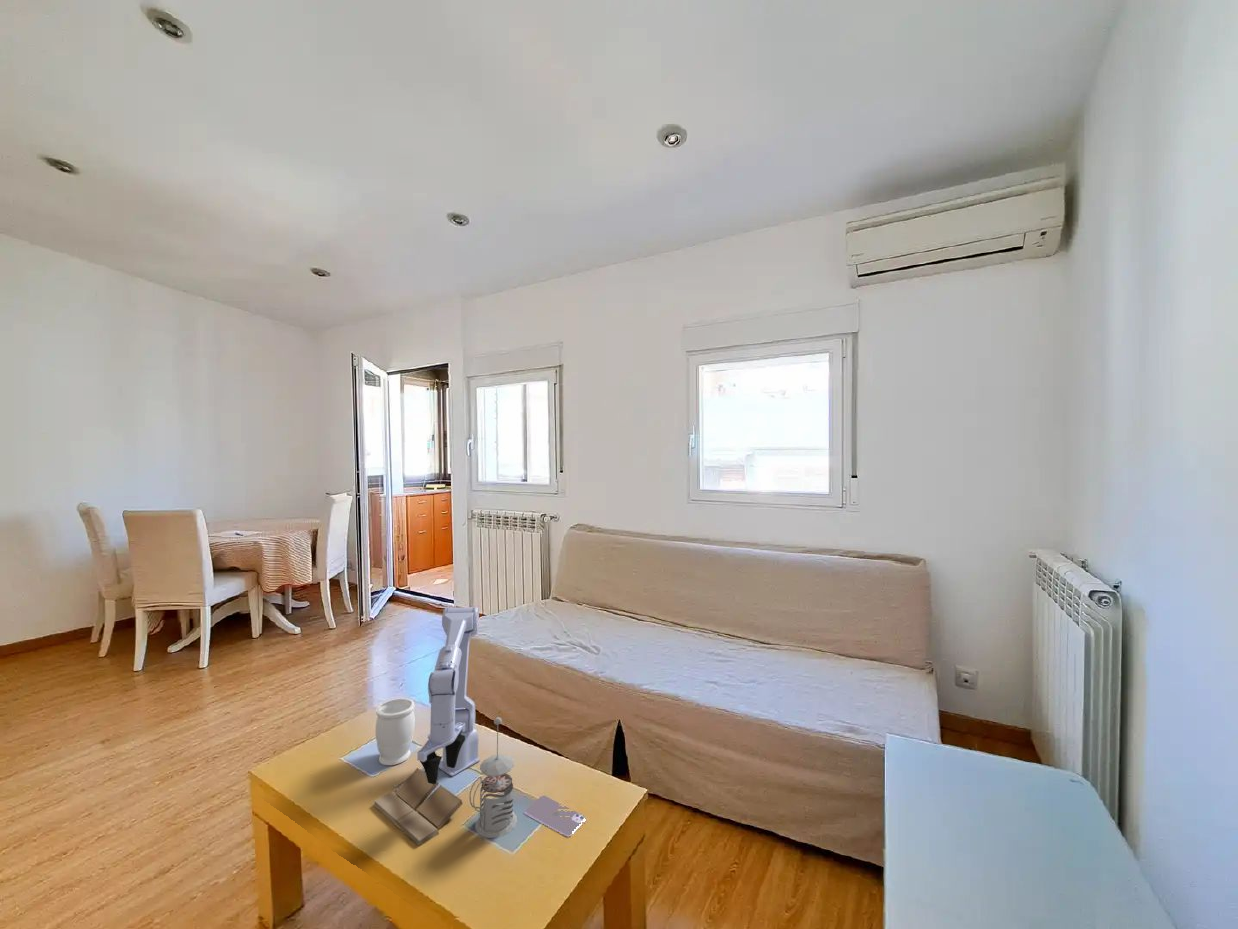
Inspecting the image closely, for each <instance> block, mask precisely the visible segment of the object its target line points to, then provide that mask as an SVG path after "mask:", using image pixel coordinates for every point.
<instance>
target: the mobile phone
mask: <svg viewBox="0 0 1238 929" xmlns="http://www.w3.org/2000/svg"><path fill="white" fill-rule="evenodd" d="M559 803H560V802H558V801H557V800H555V799H552V798H550V797H548V796H547V795H541V796H540V797H538V798H537V799H536V800H535V801H533V802H532V803H531V804H530V805H529V806H527V807H526V808H525V809H524V812H523V813H524V815H525V816H527V817H529V818H531V819H533V820H535V821H536V822H538V823H539V824H541V825H543V824H544V825H543V826H545V825H546V826H545V827H547V826H548V827H547V828H549V829H551V828H552V829H554V830H556V831H557V832H560V833H561V834H564V835H566V836H570V835H572V834H574V833H575V832H576V830H577V829H578V828H580V826H581V825H582V822H585V821H586V818H587V817H586V818H585V815H584V814H582V813H579V812H577V810H574V811H571V812H570V811H567V810H566V811H567V812H565V811H563V810H561V811H558V809H571V807H568V806H567V805H564V807H562V806H559V805H561V804H562V803H560V804H559ZM560 816H562V817H560ZM565 816H570V817H565ZM552 829H551V830H552ZM580 829H581V828H580ZM554 830H553V831H554ZM556 831H555V832H556ZM557 832H556V833H557ZM560 833H559V834H560ZM576 833H577V832H576ZM576 833H575V834H576ZM561 834H560V835H561ZM575 834H574V835H575Z"/></svg>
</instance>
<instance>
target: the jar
mask: <svg viewBox="0 0 1238 929" xmlns="http://www.w3.org/2000/svg"><path fill="white" fill-rule="evenodd" d="M415 708H416V702H415V701H414V700H413V699H411V698H406V697H405V698H404V697H402V698H401V697H400V698H394V699H390V700H387V701H384V702H382V703H381V704H379V705H378V706H377V707H376V710H375V712H376V713H375V714H376V716H377V717H376V722H375V740H376V747H377V750H378V753H379V757H378V762H379V763H380V764H381V765H384V766H394V765H395V766H396V765H398V764H399V765H400V764H401V763H404V762H405V761H406V760H408V759H409V758H410V756H411V750H410V748H411V746H412V742H413V737H414V732H415V728H416V727H415V724H416V721H415V712H414V710H415Z"/></svg>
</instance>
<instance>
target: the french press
mask: <svg viewBox="0 0 1238 929" xmlns="http://www.w3.org/2000/svg"><path fill="white" fill-rule="evenodd" d="M493 723H494V725H495V726H496V727H497V728H496V732H497V733H496V734H497V735H496V736H497V737H496V754H493V755H491V756H489V757H488V758H486V759H483V761H481V763H480V765H479V770H480V772H481V773H482V775H484V776H486V777H484V779H482V777H481V776H479V777H478V778H476V779H475V780H474V782H473V784H472V785H471V788H470V792H469V796H468V797H469V798H468V799H469V805H470V806H471V808H473V809H474V810H475V811H476V812H478V813H479V817H478V818H477V819H476V820H475V826H474V827H475V828H474V829H475V831H476V833H477V834H478V835H479V836H481V837H483V838H488V839H489V838H490V839H495V838H500V837H503V836H505V835H507V834H509V833H510V832H512V830H513V829H514V828H515V826H516V825H517V822H518V817H517V815H516V814H515V812H514V783H513V778H512V777H511V775H510V774H509V773H508V772H510V771H511V770H513V768H514V766H515V760H514V759H513V757H511V756H509V755H507V754H501V753H500V754H499V753H498V752H499V725H500V724H502V723H503V720H502V718H501V717H499V716H498V717H495V718H494V719H493ZM478 780H480V782H479V783H478V785H477V787H476V789H475V790H474V793H473V797H471V796H472V790H473V788H474V786H475V784H476V782H477V781H478ZM480 785H481V787H480ZM479 787H480V792H479V807H478V806H476V805H475V798H476V793H477V790H478V788H479ZM485 793H486V794H485ZM497 793H503V794H497ZM488 797H491V798H488ZM500 803H503V804H500ZM478 809H479V810H478Z"/></svg>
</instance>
